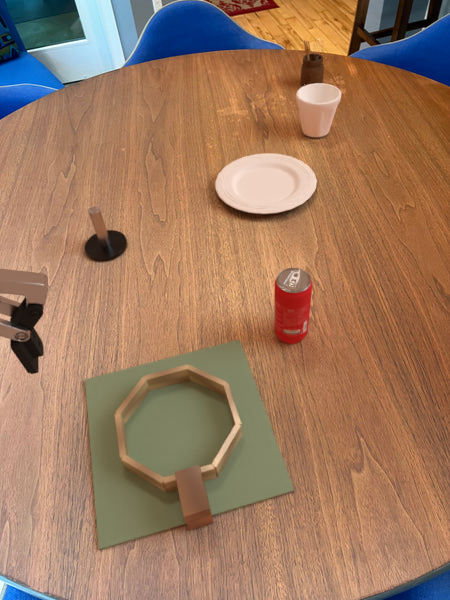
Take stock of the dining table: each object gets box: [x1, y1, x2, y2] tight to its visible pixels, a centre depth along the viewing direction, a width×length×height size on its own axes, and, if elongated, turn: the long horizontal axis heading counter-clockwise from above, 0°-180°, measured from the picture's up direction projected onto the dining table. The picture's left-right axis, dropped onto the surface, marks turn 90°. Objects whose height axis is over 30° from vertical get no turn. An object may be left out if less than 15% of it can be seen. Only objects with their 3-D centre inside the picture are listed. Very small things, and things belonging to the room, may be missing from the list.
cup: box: [295, 82, 342, 139], centre depth 109 cm, size 10×10×9 cm
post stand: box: [84, 206, 128, 262], centre depth 88 cm, size 8×8×9 cm
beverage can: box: [273, 267, 313, 345], centre depth 70 cm, size 5×5×12 cm
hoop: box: [115, 364, 242, 531], centre depth 61 cm, size 16×21×5 cm
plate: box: [214, 152, 318, 216], centre depth 99 cm, size 21×21×2 cm
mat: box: [84, 338, 295, 551], centre depth 65 cm, size 24×24×1 cm
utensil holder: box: [300, 37, 325, 87], centre depth 124 cm, size 6×6×12 cm
